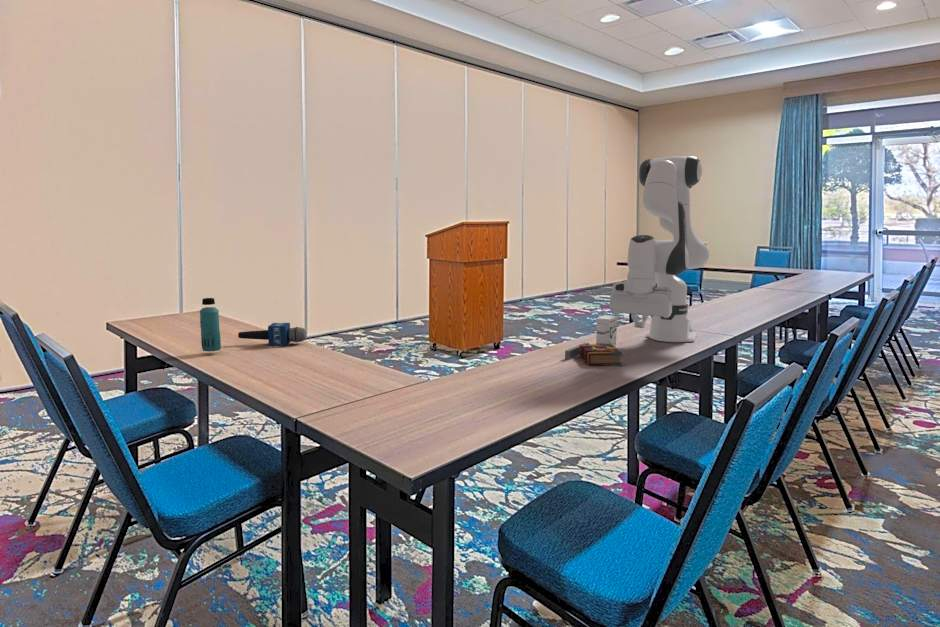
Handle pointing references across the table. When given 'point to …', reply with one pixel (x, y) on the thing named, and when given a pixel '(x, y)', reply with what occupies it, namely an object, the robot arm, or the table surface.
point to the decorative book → (600, 354)
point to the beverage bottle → (210, 326)
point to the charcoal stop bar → (573, 351)
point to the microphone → (277, 334)
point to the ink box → (606, 330)
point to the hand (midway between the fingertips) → (639, 327)
